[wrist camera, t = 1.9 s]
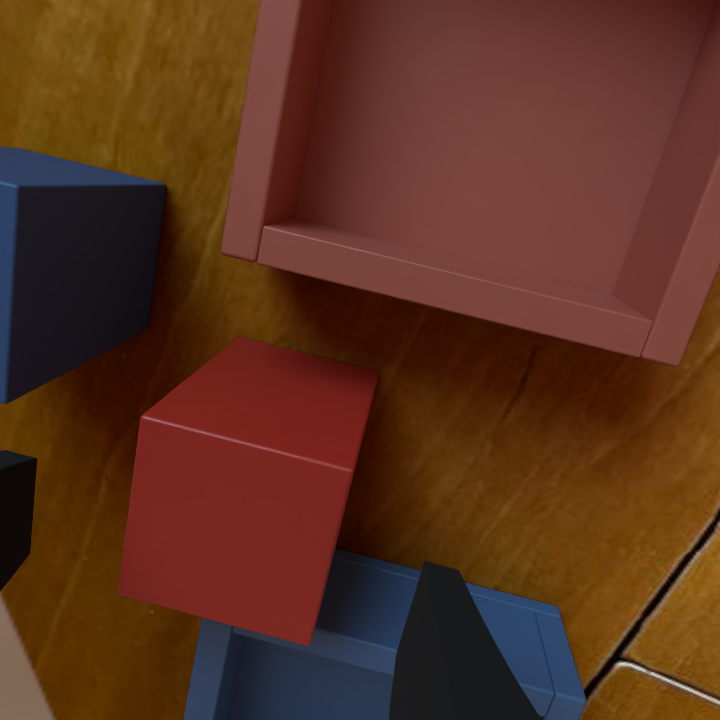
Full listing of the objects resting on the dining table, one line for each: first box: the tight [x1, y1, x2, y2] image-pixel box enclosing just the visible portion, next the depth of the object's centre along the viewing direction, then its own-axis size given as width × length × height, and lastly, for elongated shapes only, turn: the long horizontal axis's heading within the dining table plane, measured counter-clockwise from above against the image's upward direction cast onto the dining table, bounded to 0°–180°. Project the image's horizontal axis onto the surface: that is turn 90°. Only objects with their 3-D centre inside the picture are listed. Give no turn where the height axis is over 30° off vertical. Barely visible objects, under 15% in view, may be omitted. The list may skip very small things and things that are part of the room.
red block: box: [118, 337, 379, 646], centre depth 14 cm, size 4×4×6 cm
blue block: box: [0, 147, 166, 404], centre depth 14 cm, size 4×4×6 cm
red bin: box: [221, 0, 720, 367], centre depth 13 cm, size 10×10×4 cm
